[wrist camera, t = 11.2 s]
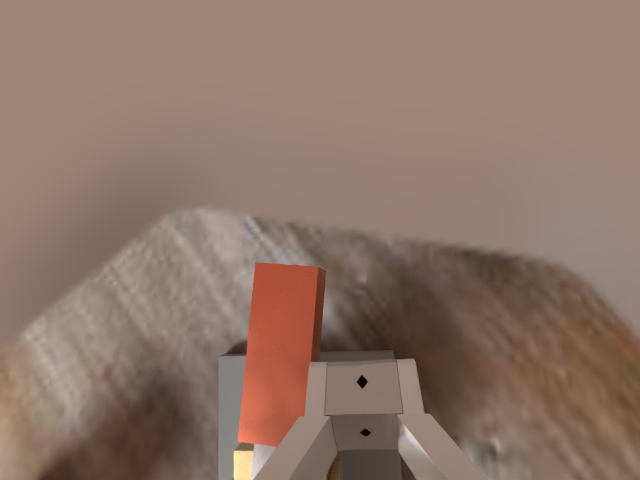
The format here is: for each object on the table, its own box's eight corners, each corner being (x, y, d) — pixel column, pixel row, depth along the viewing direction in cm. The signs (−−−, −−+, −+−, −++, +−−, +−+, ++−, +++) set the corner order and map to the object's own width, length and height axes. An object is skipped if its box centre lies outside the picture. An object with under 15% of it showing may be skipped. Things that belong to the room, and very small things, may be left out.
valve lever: (300, 611, 19) (286, 669, 16) (240, 599, 19) (216, 654, 16) (325, 271, 21) (318, 266, 18) (271, 267, 21) (255, 262, 18)
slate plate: (226, 592, 30) (218, 607, 29) (225, 353, 33) (218, 356, 32) (409, 603, 29) (411, 619, 27) (392, 349, 31) (393, 352, 30)
